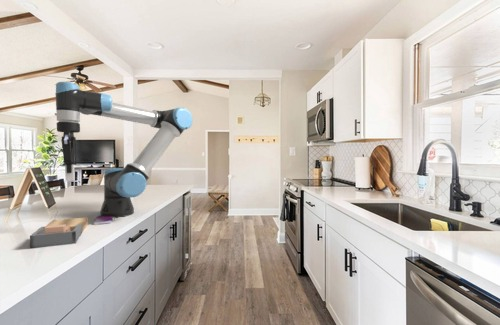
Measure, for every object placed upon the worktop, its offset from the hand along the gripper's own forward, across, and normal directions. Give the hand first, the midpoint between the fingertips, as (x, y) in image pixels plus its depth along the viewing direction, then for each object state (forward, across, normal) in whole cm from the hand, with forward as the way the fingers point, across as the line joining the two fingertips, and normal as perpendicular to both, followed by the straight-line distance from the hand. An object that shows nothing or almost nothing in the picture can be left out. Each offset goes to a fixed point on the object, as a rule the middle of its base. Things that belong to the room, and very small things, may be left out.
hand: (70, 180), depth 99 cm
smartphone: (+20, -9, +11) cm, 25 cm away
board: (+19, +2, -1) cm, 19 cm away
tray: (+19, +16, -1) cm, 25 cm away
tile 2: (+18, +14, -1) cm, 23 cm away
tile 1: (+16, +17, -1) cm, 23 cm away
